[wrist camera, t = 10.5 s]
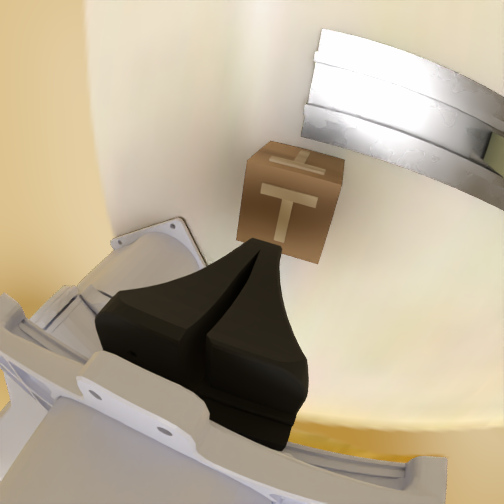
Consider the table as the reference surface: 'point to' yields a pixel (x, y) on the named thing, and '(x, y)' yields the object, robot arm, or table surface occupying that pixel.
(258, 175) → the block
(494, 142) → the pale green long bar
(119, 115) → the table surface
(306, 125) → the track
